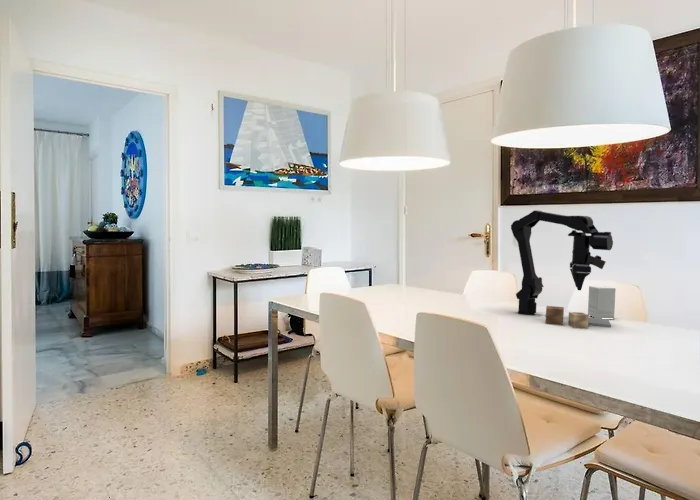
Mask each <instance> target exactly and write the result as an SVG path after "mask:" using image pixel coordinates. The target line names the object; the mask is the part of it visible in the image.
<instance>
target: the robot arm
mask: <svg viewBox="0 0 700 500" xmlns="http://www.w3.org/2000/svg"><path fill="white" fill-rule="evenodd" d="M540 221H541V222H547V223H551V224H556V225H562V226H566V227H568V228H570V229H572V230H571V232H569V233H568V234H567V236H568V237H573V240H572V241H573V242H572V252H571V253H572V255H571V258H572V259H571V261H570V262H569V270H570V274H571V275H572V276H571V277H572V279H573V281H574V284H575V285H574V286H575V288H576V289H577V291H582V288H583V285H584V282H585V279H586V277H588V276H590V274H591V273H592V267H591V266H595V267H596V268H598V269H600V270H603V268H604V266H605V264H606V263H607V261H605V260H603V259H602V257H601V256H600V255H598V254H597V255H595V256H593V255H591V254H592V253H591V252H590V247H591V248H592V249H593V250H599V251H611V250H612V249H613V245H614V241H613V236H612V232H611V231H598V229H597V227H595V225H594V220H593V219H592V217H591V216H588V215H565V214H558V213H552V212H546V211H542V210H533V211H531V212H530V213H528V214H527V215H525V216H522V217H520V219H517V220H514V221H513V222H512V223H511V225H510V231H511V233H512V235H513V237H514V238H515V240H516V242H517V245H518V251H519V257H520V262H521V263H520V264H521V268H522V274H523V276H522V279H521V289H520V290H519V291H517V292H516V293H515V297H516V299H517V300H518V311H517V314H521V315H535V314H536V313H537V305H538V304H537V302H536V299H538V297H539V295H540V294H541V293H542V292H543V288H544V284H543V279H542V277H538V275H537V274H536V269H535V263H534V258H533V253H532V252H533V251H532V246H531V236H532V228H534V227H535V226H536V225H537V224H538V223H539V222H540ZM589 234H590V235H589Z"/></svg>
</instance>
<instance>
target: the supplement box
mask: <svg viewBox="0 0 700 500" xmlns="http://www.w3.org/2000/svg"><path fill="white" fill-rule="evenodd" d="M587 300H588V303H587V304H588V305H587V306H588V308H587V315H590V316H592V317H591V318H593V317H594V318H613V319H612V320H615V308H616V307H615V306H616V305H615V304H616V288H614V287H611V286H606V285H602V286H601V285H590V286H588V299H587ZM590 316H589V317H590Z"/></svg>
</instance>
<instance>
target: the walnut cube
mask: <svg viewBox="0 0 700 500" xmlns="http://www.w3.org/2000/svg"><path fill="white" fill-rule="evenodd" d="M564 310H565V307H564V306H553V305H546V310H545V324H546V325H555V326H564V315H565V314H564V313H565V311H564Z"/></svg>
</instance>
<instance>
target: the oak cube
mask: <svg viewBox="0 0 700 500" xmlns="http://www.w3.org/2000/svg"><path fill="white" fill-rule="evenodd" d="M589 317H590V316H589V315H588V313H585V312H578V311H575V312H573V311H569V312H568V321H567V322H568V324H567V325H568V326H569V327H571V328H573V329H589V325H588V318H589Z"/></svg>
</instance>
